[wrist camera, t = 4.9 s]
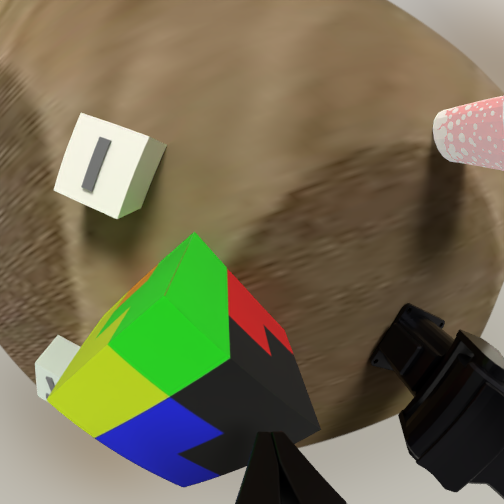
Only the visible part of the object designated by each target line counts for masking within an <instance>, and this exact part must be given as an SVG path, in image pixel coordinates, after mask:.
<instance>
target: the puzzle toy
mask: <svg viewBox="0 0 504 504" xmlns="http://www.w3.org/2000/svg"><path fill="white" fill-rule="evenodd" d="M47 401H48V402H49V403H50V404H51V405H52V406H54V407H55V408H56V409H57V410H58V411H60V412H61V413H62V414H63V415H64V416H66V417H67V418H68V419H69V420H71V421H72V422H73V423H74V424H76V425H77V426H78V427H80V428H81V429H83V430H84V431H85V432H87V433H88V434H89V435H91V436H92V437H94V438H95V439H97V440H98V441H99V442H101V443H102V444H104V445H105V446H107V447H108V448H110V449H112V450H113V451H115V452H117V453H118V454H120V455H121V456H123V457H125V458H126V459H128V460H130V461H131V462H133V463H135V464H137V465H138V466H140V467H142V468H144V469H146V470H148V471H150V472H152V473H154V474H156V475H158V476H160V477H162V478H164V479H166V480H168V481H170V482H172V483H174V484H176V485H179V486H181V487H187V486H191V485H194V484H197V483H201V482H204V481H207V480H210V479H213V478H216V477H219V476H221V475H224V474H227V473H230V472H232V471H235V470H238V469H240V468H243V467H245V466H247V465H248V462H249V458H250V455H251V452H252V448H253V445H254V441H255V438H256V435H257V432H270V433H271V432H273V431H282V432H284V433H285V434H286V435H287V436H288V437H289V439H290V440H291V441H292V442H293V443H294V444H295V443H297V442H299V441H301V440H303V439H305V438H306V437H308V436H310V435H312V434H314V433H315V432H317V431H319V430H321V428H320V426H319V423H318V420H317V417H316V415H315V412H314V409H313V406H312V404H311V401H310V398H309V395H308V393H307V390H306V387H305V385H304V382H303V379H302V376H301V374H300V371H299V368H298V365H297V363H296V360H295V357H294V355H293V352H292V349H291V346H290V344H289V341H288V338H287V336H286V333H285V330H284V329H283V328H282V327H281V326H280V325H279V324H278V323H277V322H276V321H275V320H274V319H273V318H272V316H271V315H270V314H269V313H268V312H267V311H266V310H265V309H264V308H263V307H262V306H261V305H260V304H259V302H258V301H257V300H256V299H255V298H254V297H253V296H252V295H251V294H250V293H249V292H248V291H247V289H246V288H245V287H244V286H243V285H242V284H241V283H240V282H239V281H238V280H237V279H236V277H235V276H234V275H233V274H232V273H231V272H230V271H229V270H228V269H227V267H226V266H225V265H224V264H223V263H222V262H221V261H220V260H219V259H218V257H217V256H216V255H215V254H214V253H213V252H212V251H211V250H210V249H209V247H208V246H207V245H206V244H205V243H204V242H203V241H202V240H201V238H200V237H199V236H198V235H197V234H196V233H195V232H194V233H193V234H191V235H190V236H189V237H188V238H187V239H186V240H185V241H183V242H182V243H181V244H180V245H179V246H178V247H177V248H175V249H174V250H173V251H172V252H171V253H170V254H169V255H168V256H166V257H165V258H164V259H163V260H162V261H161V262H160V263H159V264H158V265H156V266H155V267H154V268H153V269H152V270H151V271H150V272H149V273H148V274H147V275H146V276H144V277H143V278H142V279H141V280H140V281H139V282H138V283H137V284H136V285H135V286H134V287H133V288H132V289H131V290H129V291H128V292H127V293H126V294H125V295H124V296H123V297H122V298H121V299H120V300H119V301H118V302H117V303H116V304H115V305H114V306H113V307H112V308H111V309H110V310H109V311H108V312H107V313H106V314H105V315H104V316H103V317H102V318H101V320H100V321H99V322H98V324H97V325H96V327H95V328H94V329H93V331H92V332H91V333H90V335H89V336H88V338H87V339H86V340H85V342H84V343H83V345H82V346H81V348H80V349H79V351H78V352H77V353H76V355H75V356H74V358H73V359H72V361H71V362H70V364H69V365H68V367H67V368H66V370H65V371H64V373H63V374H62V376H61V377H60V379H59V381H58V382H57V384H56V385H55V387H54V388H53V390H52V392H51V393H50V395H49V396H48V398H47Z"/></svg>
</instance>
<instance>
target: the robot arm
mask: <svg viewBox="0 0 504 504" xmlns="http://www.w3.org/2000/svg"><path fill="white" fill-rule="evenodd" d="M408 308H409V309H408ZM444 324H445V321H444V320H442V319H441V318H439V317H437V316H435V315H433V314H431V313H429V312H427V311H424V310H422V309H420V308H418V307H416V306H414V305H412V304H410V303H407V304H406V305H404V307H403V308H402V310H401V312H400V313H399V315H398V317H397V318H396V320H395V322H394V323H393V325H392V326H391V328H390V330H389V331H388V333H387V334H386V336H385V337H384V339H383V340H382V342H381V343H380V345H379V346H378V348H377V349H376V351H375V352H374V354H373V355H372V356H371V358H370V363H371V365H373V366H376V367H381V368H385V369H389V370H394V371H395V373H396V374H397V375H398V376H399V378H400V379H401V380H402V382H403V383H404V384H405V386H406V387H407V388H408V389H409V391H410V392H411V393H412V395H413V396H414V398H413V399H412V401H411V402H410V403H409V404H408V405H407V407H406V408H405V409H404V410H402V411H401V412H400V414H399V415H398V416H399V419H400V423H401V426H402V430H403V434H404V438H405V441H406V445H407V448H408V451H409V454H410V455H411V456H412V457H413V458H414V459H415V460H416V463H417V464H418V465H420V466H422V467H423V468H425V469H427V470H428V471H429V472H430V473H431V474H433V475H434V477H435V478H436V479H437V480H438V481H439V482H440V483H441V485H442V486H443V487H444V488H445V489H447V490H449V491H453V492H458V491H459V490H461V489H462V488H463V487H464V486H465V485H466V484H468V483H471V484H487V485H488V486H490V487H491V488H492V489H493V490H494V491H496V492H497V493H498V494H499V495H500V496H501V497H502V498H503V499H504V358H503V356H502V355H501V353H500V352H499V351H498V350H497V349H496V348H494V347H493V346H492V345H490V344H489V343H487V342H486V341H485V340H483V339H482V338H480V337H477V336H475V335H472V334H470V333H467V332H465V331H463V330H459V331H458V333H457V335H456V336H457V337H456V338H455V340H454V339H453V338H452V337H450V336H449V335H448V334H447V333H446V332H445V331H443V330H442V328H443V326H444ZM374 360H375V361H374ZM235 504H346V501H345V500H344V499H343V498H342V497H341V496H340V495H339V494H338V493H337V492H336V491H335V490H334V489H333V488H332V487H331V486H330V485H329V483H328V482H327V481H326V480H325V479H324V478H323V477H322V476H321V475H320V474H319V472H318V471H317V470H316V469H315V468H314V467H313V466H312V465H311V463H309V461H308V460H307V459H306V458H305V456H304V455H303V454H302V453H301V452H300V451H299V449H298V448H297V447H296V446H295V445H294V443H293V442H292V441H291V440H290V439H289V437H288V436H287V435H286V434H285V433H284V432H282V431H273V432H271V433H270V432H257V435H256V438H255V441H254V445H253V448H252V452H251V455H250V458H249V462H248V465H247V468H246V471H245V475H244V478H243V481H242V484H241V487H240V491H239V493H238V496H237V500H236V503H235Z"/></svg>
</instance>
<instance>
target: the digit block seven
mask: <svg viewBox="0 0 504 504" xmlns="http://www.w3.org/2000/svg"><path fill="white" fill-rule="evenodd" d="M80 348H81V347H80V346H78V345H76V344H74V343H72V342H70V341H68V340H66V339H65V338H63V337H61V336H59V335H58V336H57V337H56V338H55V339H54V340H53V341H52V343H51V344H50V345H49V346H48V347H47V349H46V350H45V351H44V352H43V354H42V355H41V356H40V357H39V358H38V360H37V361H36V362H35V370H36V384H37V394H38V396H39V397H40V398H42V399H44V400H45V401H47V398H48V396H49V395H50V393H51V392H52V390H53V388H54V387H55V385H56V384H57V382H58V381H59V379H60V377H61V376H62V374H63V373H64V371H65V370H66V368H67V367H68V365H69V364H70V362H71V361H72V359H73V358H74V356H75V355H76V353H77V352H78V351H79V349H80ZM47 402H48V401H47Z"/></svg>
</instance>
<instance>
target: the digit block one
mask: <svg viewBox="0 0 504 504" xmlns="http://www.w3.org/2000/svg"><path fill="white" fill-rule="evenodd" d="M166 146H167V145H166V144H164V143H162V142H160V141H158V140H155V139H153V138H151V137H148V136H146V135H143V134H140V133H138V132H135V131H132V130H130V129H127V128H124V127H121V126H118V125H116V124H113V123H110V122H107V121H104V120H101V119H98V118H95V117H92V116H89V115H86V114H83V113H81V114H80V116H79V119H78V121H77V124H76V126H75V128H74V131H73V134H72V136H71V139H70V141H69V144H68V147H67V150H66V152H65V155H64V158H63V161H62V164H61V167H60V170H59V174H58V177H57V180H56V184H55V187H54V191H56V192H59V193H61V194H63V195H65V196H67V197H69V198H71V199H74V200H76V201H78V202H80V203H82V204H84V205H87V206H89V207H91V208H93V209H95V210H98V211H100V212H102V213H104V214H106V215H109V216H111V217H113V218H115V219H119V218H121V217H123V216H125V215H127V214H130V213H132V212H134V211H136V210H138V209H141V207H142V204H143V202H144V199H145V196H146V194H147V191H148V189H149V186H150V184H151V181H152V179H153V176H154V174H155V172H156V169H157V167H158V164H159V162H160V160H161V158H162V155H163V153H164V151H165V149H166Z"/></svg>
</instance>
